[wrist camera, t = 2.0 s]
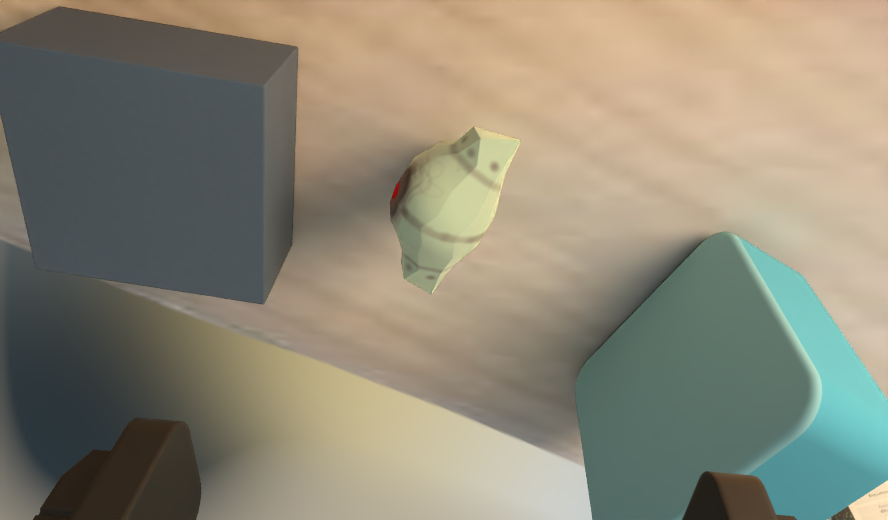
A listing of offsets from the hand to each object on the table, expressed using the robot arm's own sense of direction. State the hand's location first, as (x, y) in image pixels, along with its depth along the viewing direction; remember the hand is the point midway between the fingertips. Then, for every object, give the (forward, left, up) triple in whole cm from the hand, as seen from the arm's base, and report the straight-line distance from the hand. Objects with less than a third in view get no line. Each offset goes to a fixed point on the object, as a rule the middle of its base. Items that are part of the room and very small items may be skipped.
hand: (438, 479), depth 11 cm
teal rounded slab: (+13, -11, -21) cm, 27 cm away
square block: (-12, -5, -21) cm, 25 cm away
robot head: (0, -4, -21) cm, 22 cm away
